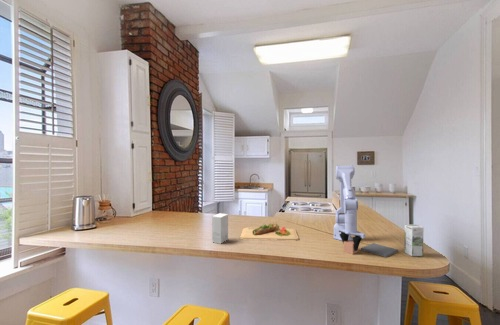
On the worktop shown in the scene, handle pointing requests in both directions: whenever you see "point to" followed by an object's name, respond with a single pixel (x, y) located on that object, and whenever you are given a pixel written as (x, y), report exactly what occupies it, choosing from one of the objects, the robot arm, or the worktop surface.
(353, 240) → the robot arm
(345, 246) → the cube
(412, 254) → the syrup box
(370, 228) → the worktop surface
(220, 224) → the skincare box
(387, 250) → the mat
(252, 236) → the cutting board
